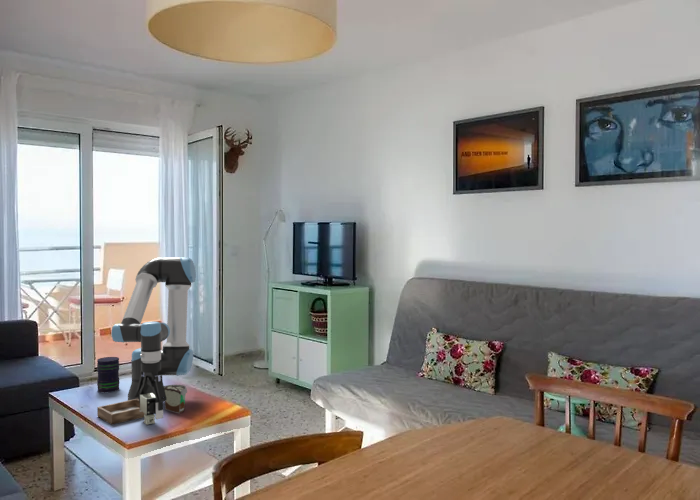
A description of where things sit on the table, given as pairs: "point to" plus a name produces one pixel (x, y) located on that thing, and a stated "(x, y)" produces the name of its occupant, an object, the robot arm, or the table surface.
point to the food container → (175, 398)
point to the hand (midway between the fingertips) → (151, 414)
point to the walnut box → (120, 411)
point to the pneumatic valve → (148, 407)
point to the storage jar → (108, 374)
